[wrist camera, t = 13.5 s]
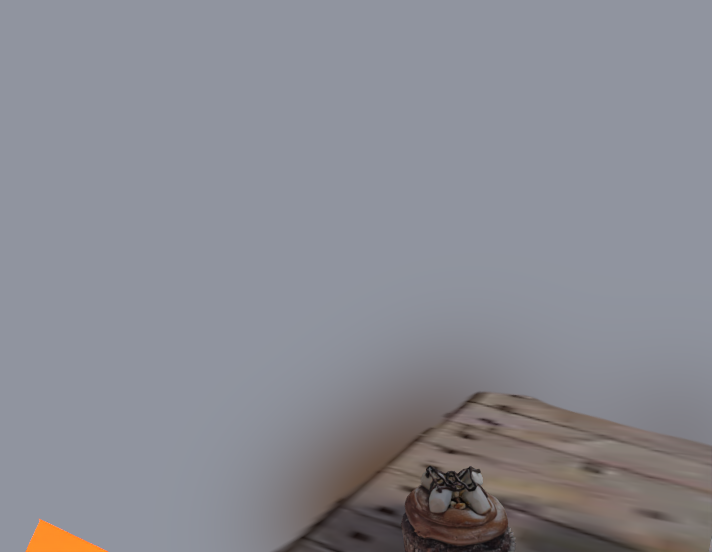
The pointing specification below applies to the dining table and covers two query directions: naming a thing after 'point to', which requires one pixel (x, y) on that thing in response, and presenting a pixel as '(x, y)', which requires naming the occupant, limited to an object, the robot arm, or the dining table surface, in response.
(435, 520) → the cupcake
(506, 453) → the dining table surface
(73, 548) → the orange juice
